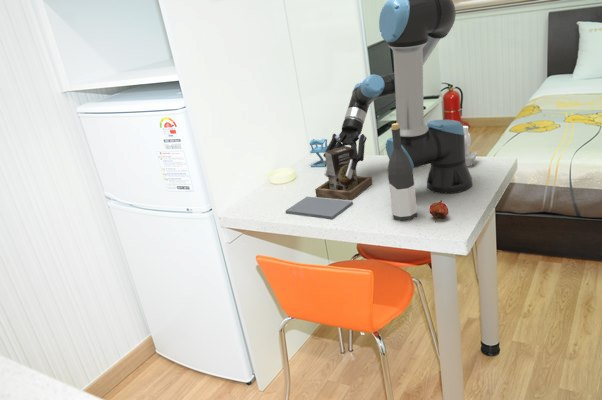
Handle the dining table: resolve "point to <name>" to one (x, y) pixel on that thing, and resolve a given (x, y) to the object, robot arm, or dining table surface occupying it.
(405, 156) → the wine bottle
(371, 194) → the dining table surface
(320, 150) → the chair
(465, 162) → the robot arm
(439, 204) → the pomegranate
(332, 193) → the walnut cradle
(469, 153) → the figurine
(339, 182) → the coffee box
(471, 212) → the dining table surface
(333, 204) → the slate mat
